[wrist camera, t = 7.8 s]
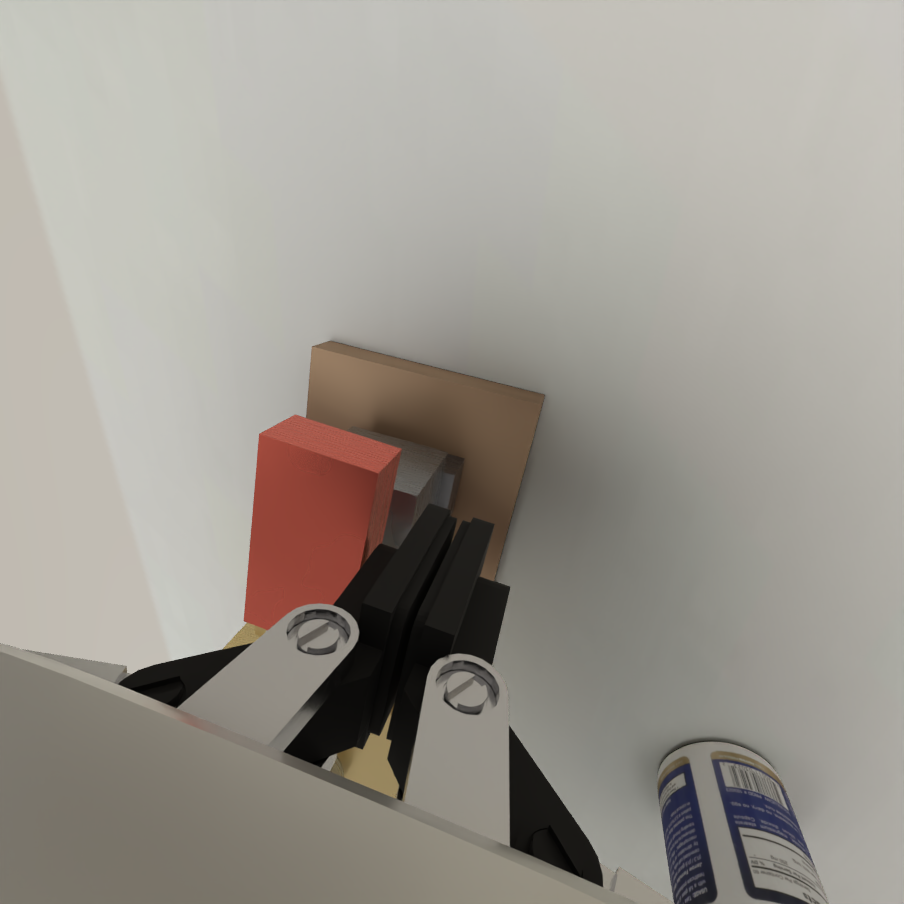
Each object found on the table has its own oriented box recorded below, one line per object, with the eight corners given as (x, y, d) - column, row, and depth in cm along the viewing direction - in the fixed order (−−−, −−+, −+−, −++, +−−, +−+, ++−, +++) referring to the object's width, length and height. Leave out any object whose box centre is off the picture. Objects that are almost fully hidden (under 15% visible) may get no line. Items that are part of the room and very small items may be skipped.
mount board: (435, 792, 29) (428, 819, 27) (292, 737, 30) (279, 760, 29) (544, 394, 19) (542, 405, 18) (329, 341, 21) (311, 346, 19)
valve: (415, 788, 27) (364, 947, 21) (299, 743, 28) (217, 881, 22) (499, 447, 19) (459, 538, 13) (333, 402, 20) (220, 467, 14)
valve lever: (337, 807, 17) (306, 875, 15) (259, 773, 18) (220, 835, 16) (419, 441, 12) (387, 476, 10) (303, 404, 12) (250, 430, 10)
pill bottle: (683, 828, 25) (738, 1135, 16) (636, 750, 24) (667, 1031, 15) (800, 811, 23) (935, 1152, 14) (754, 725, 22) (868, 1034, 13)
